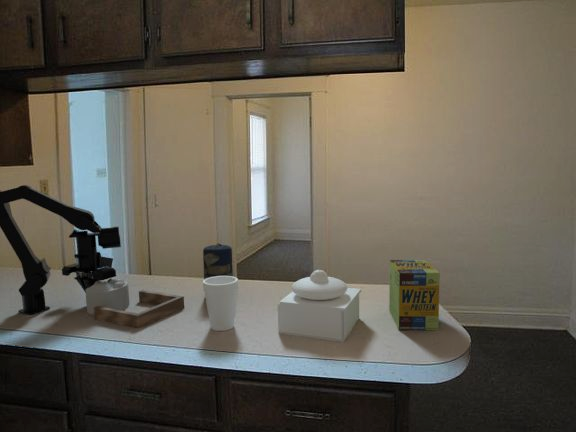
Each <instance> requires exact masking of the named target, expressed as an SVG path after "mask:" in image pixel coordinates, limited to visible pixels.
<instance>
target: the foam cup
mask: <svg viewBox="0 0 576 432" xmlns="http://www.w3.org/2000/svg"><path fill="white" fill-rule="evenodd" d="M202 286H203V287H202V288H203V292H204V297H205V298H204V299H205V303H206V306H207V307H206V308H207V313H208V314H207V315H208V319H209V324H210V329H211V330H213V331H218V332H220V331H222V332H224V331H229V330H231V329H233V328H234V327H235V319H236V312H237V311H236V310H237V309H236V307H237V300H238V299H237V298H238V290H239V279H238V277H236V276H234V275H233V276H215V277H210V278H207V279H205V280H204V279H203V280H202Z"/></svg>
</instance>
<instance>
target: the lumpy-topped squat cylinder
mask: <svg viewBox="0 0 576 432" xmlns="http://www.w3.org/2000/svg"><path fill="white" fill-rule="evenodd" d="M85 292H86V293H85ZM84 293H85V300H86V301H85V302H86V303H85V304H86V313H87V314H89V315H90V314H91V315H94V307H96V306H101V307H106V308H112V309H117V310H122V311H125V310H126V309H127V308H129V307H130V291H129V282H128V281H127V280H125V279H122V278H118V279H117V278H115V277H112V278H109V279H107V281H106V280H101V281H100V280H98V281H96V282H95V284H94V285H92V286H91V287H88V288H86V290H85V291H84Z"/></svg>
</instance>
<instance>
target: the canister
mask: <svg viewBox="0 0 576 432" xmlns="http://www.w3.org/2000/svg"><path fill="white" fill-rule="evenodd" d="M202 252H203V253H202V256H203V257H202V259H203V260H202V261H203V280H205V279H207V278H210V277H215V276H233V277H234V272H233V271H234V269H233V249H232V247H231V246H230V245H227V244H221V243H216V244H214V245H213V244H212V245H208V246H205V247H204V248H203V250H202Z"/></svg>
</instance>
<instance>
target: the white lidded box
mask: <svg viewBox="0 0 576 432" xmlns="http://www.w3.org/2000/svg"><path fill="white" fill-rule="evenodd" d="M361 293H362V288H356V287H355V288H353V287H348V285H347V283H345V282H344V281H343V280H341V279H340V278H336V277H332V276H328V274H327V272H325V271H324V270H323V269H316V270H314V271H312V273H311V274H310V276H306V277H303V278H301V279H300V278H299V279H297V281H295V282H294V283H293V284H292V286H291V292H290V293H288V295H286V296H285V297H284V298H282V299H281V300H280V301H279V303H277V329H278V331H277V332H278V334H281V335H290V336H297V337H303V338H312V339H320V340H324V341H325V340H326V341H335V342H341V343H345V341H346V339H347V338H348V336H349V334H350V333H351V332H352V330H353V328H354V327H355V326H356V324H357V323H358V321H359V319H360V294H361Z"/></svg>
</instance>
